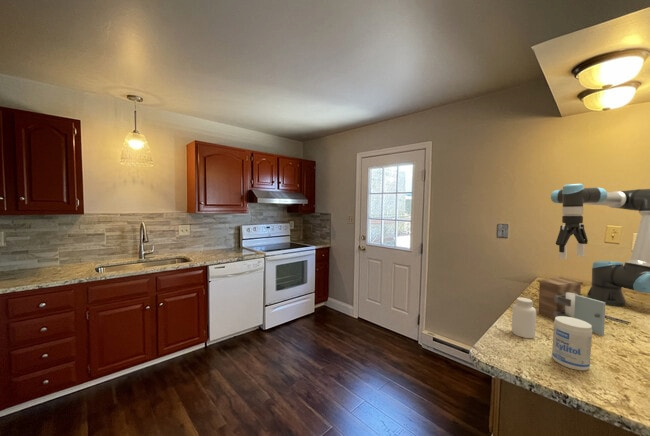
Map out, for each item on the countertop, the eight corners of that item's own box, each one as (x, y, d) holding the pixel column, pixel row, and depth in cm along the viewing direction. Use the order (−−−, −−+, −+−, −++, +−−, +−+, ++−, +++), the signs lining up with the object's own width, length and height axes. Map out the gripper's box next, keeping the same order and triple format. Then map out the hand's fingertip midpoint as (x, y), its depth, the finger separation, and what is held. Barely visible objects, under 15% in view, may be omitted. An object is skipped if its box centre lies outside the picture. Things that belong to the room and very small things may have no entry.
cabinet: (560, 309, 138) (561, 277, 137) (595, 321, 124) (597, 285, 123) (534, 313, 133) (535, 279, 132) (568, 326, 119) (569, 288, 118)
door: (568, 321, 124) (569, 292, 123) (605, 334, 111) (607, 302, 110) (562, 322, 122) (563, 292, 122) (599, 336, 110) (601, 303, 109)
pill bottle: (529, 340, 106) (530, 304, 105) (507, 332, 113) (508, 297, 112) (539, 336, 109) (540, 300, 109) (517, 328, 116) (518, 295, 116)
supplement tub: (552, 364, 90) (553, 321, 89) (551, 352, 97) (553, 313, 97) (592, 375, 84) (594, 330, 83) (588, 362, 91) (590, 320, 90)
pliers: (576, 306, 142) (633, 319, 125) (576, 307, 142) (633, 320, 125) (571, 309, 136) (630, 324, 120) (571, 311, 136) (629, 326, 120)
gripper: (579, 214, 138) (578, 254, 139) (546, 216, 130) (546, 258, 131) (597, 214, 131) (597, 256, 132) (564, 216, 123) (564, 261, 124)
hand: (571, 257), depth 132 cm, fingers open, 13 cm apart
